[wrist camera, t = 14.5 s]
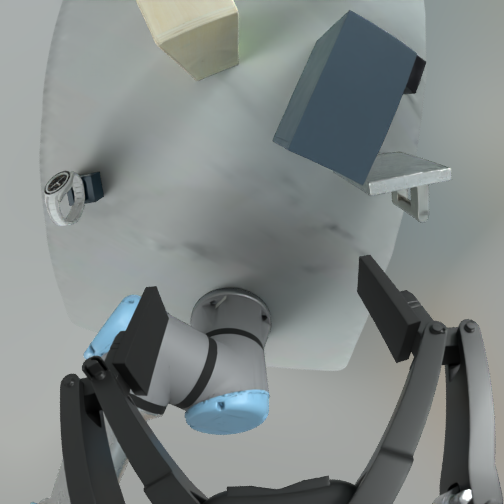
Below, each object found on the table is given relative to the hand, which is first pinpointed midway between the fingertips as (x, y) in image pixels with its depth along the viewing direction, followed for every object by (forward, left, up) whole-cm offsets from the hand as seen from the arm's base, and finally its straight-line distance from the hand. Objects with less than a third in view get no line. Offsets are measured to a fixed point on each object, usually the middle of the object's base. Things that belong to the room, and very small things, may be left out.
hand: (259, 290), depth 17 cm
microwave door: (+9, -18, -27) cm, 33 cm away
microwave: (+17, -6, -27) cm, 32 cm away
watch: (-8, +26, -27) cm, 38 cm away
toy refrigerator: (+18, +13, -27) cm, 35 cm away
